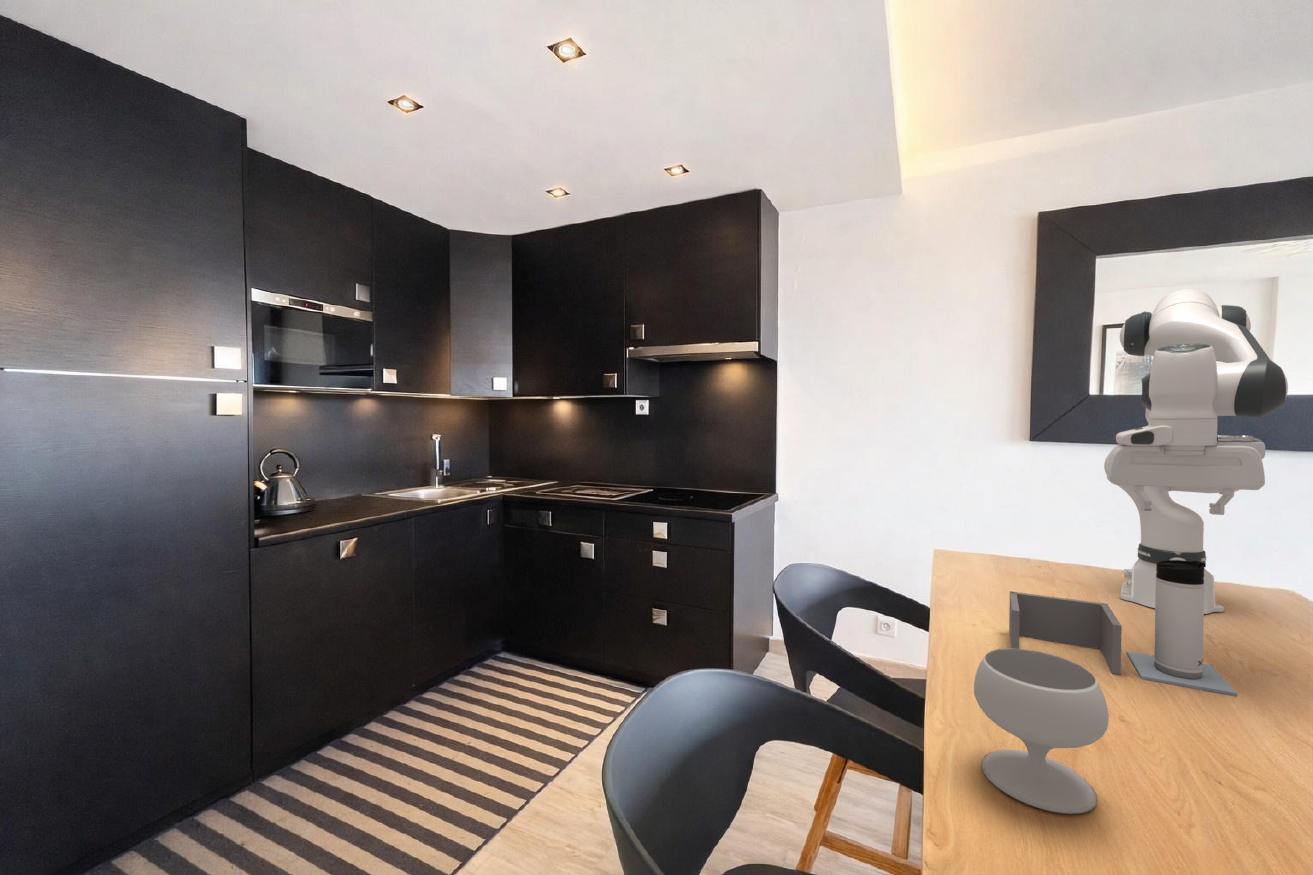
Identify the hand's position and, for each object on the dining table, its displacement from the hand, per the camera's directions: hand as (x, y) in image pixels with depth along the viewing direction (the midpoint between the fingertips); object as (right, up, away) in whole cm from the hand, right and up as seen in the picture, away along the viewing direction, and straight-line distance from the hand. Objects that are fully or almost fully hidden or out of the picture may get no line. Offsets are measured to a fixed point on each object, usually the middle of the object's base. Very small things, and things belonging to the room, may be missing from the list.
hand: (1180, 512), depth 97 cm
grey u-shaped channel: (-14, -29, +10) cm, 34 cm away
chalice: (-45, -31, -27) cm, 61 cm away
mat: (0, -29, +1) cm, 29 cm away
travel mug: (0, -29, 0) cm, 29 cm away
